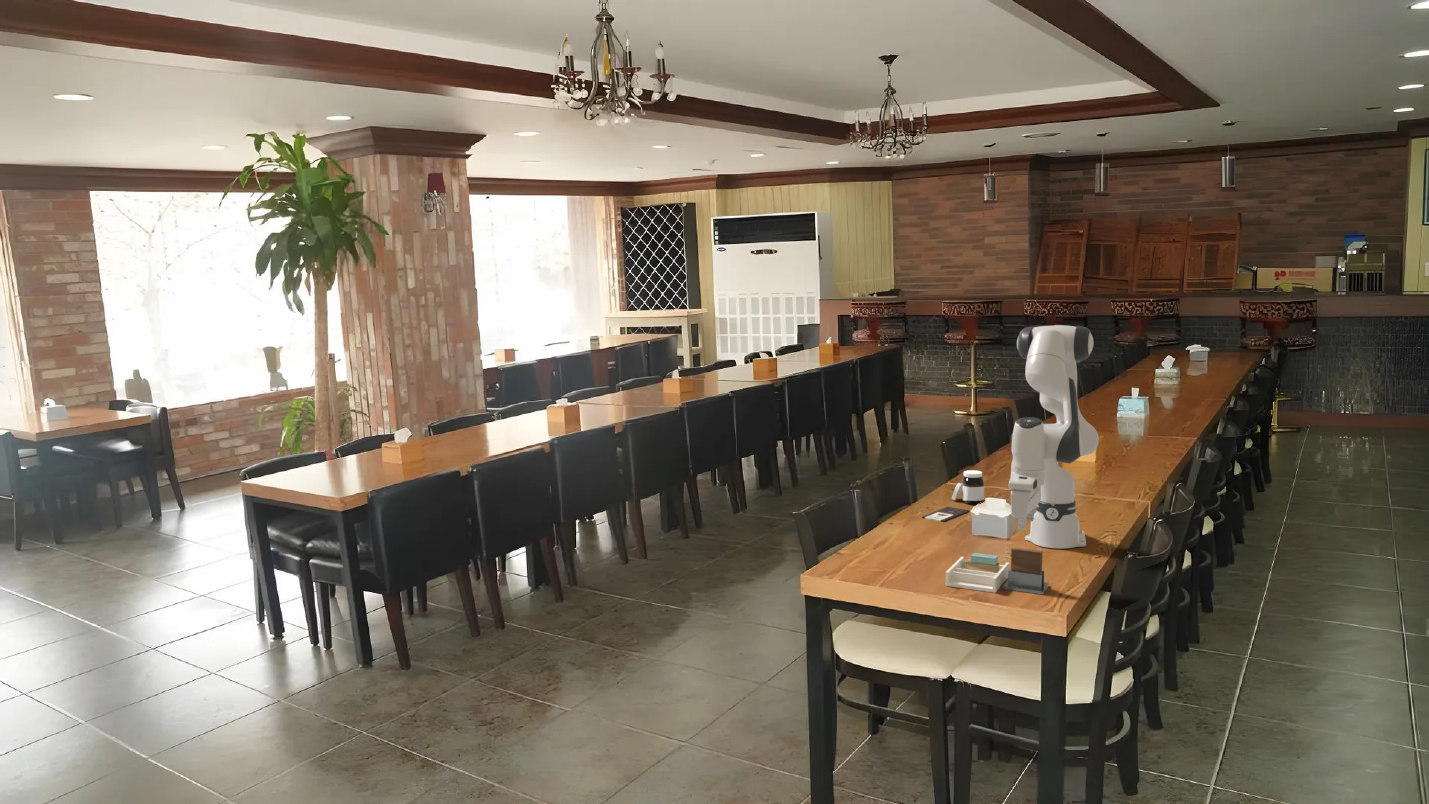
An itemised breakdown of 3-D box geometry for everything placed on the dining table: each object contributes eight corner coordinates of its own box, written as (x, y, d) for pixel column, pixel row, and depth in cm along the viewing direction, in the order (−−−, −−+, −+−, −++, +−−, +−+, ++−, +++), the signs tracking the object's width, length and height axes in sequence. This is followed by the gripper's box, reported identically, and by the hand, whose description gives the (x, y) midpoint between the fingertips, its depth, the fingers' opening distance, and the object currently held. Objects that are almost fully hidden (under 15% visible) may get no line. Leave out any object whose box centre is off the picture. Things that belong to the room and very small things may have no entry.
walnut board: (1012, 581, 273) (1013, 547, 272) (1041, 585, 269) (1042, 550, 268) (1010, 583, 272) (1011, 549, 270) (1040, 587, 268) (1041, 552, 266)
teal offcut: (973, 559, 284) (973, 552, 284) (997, 562, 280) (997, 555, 280) (970, 562, 281) (971, 555, 281) (995, 565, 278) (995, 558, 278)
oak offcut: (968, 568, 285) (968, 559, 284) (999, 572, 280) (999, 562, 280) (965, 571, 282) (965, 561, 282) (996, 575, 278) (996, 565, 277)
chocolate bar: (969, 510, 352) (944, 520, 340) (969, 512, 353) (944, 523, 340) (947, 506, 359) (921, 516, 346) (947, 509, 359) (921, 519, 346)
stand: (1009, 580, 277) (1009, 564, 276) (1049, 585, 271) (1049, 569, 270) (1002, 588, 270) (1002, 572, 269) (1043, 594, 264) (1043, 577, 264)
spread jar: (986, 505, 361) (986, 474, 359) (955, 506, 361) (956, 475, 360) (978, 497, 373) (978, 468, 371) (948, 498, 373) (949, 468, 371)
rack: (961, 569, 288) (961, 556, 287) (1009, 575, 281) (1009, 562, 280) (945, 585, 274) (945, 572, 273) (995, 592, 267) (995, 578, 266)
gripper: (1024, 467, 276) (1023, 514, 279) (1007, 484, 259) (1005, 533, 261) (1047, 469, 273) (1045, 517, 276) (1031, 486, 256) (1029, 536, 258)
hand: (1026, 525), depth 268 cm, fingers open, 8 cm apart
